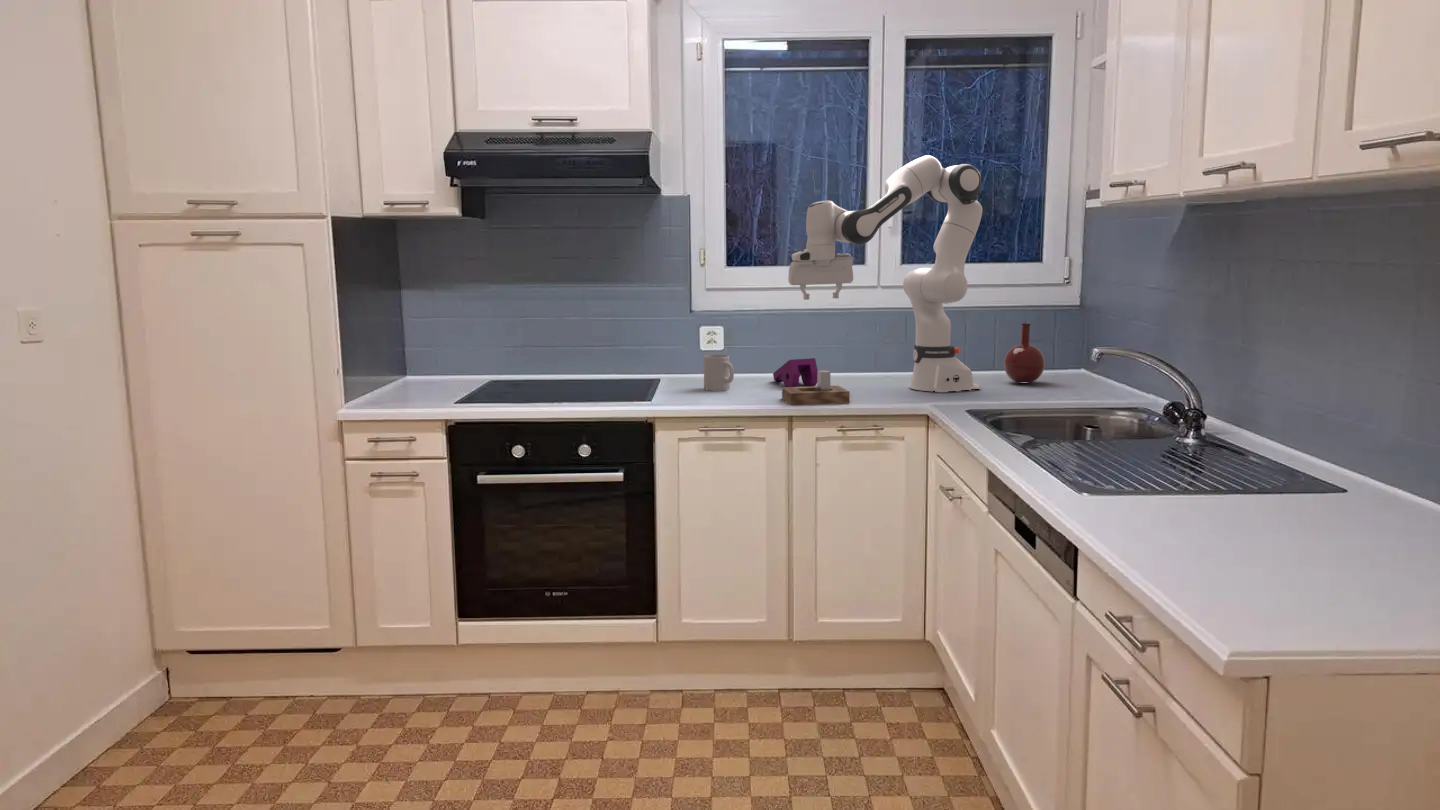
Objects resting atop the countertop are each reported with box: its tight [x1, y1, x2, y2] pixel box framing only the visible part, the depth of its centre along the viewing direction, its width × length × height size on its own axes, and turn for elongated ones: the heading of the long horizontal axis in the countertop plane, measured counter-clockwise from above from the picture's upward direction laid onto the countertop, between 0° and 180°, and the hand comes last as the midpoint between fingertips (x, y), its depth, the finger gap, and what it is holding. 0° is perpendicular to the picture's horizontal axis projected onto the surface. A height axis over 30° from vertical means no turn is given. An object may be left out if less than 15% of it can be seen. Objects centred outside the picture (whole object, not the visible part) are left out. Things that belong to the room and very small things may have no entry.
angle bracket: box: [816, 369, 831, 391], centre depth 300 cm, size 8×4×9 cm, turn 99°
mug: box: [703, 354, 735, 391], centre depth 322 cm, size 12×8×11 cm
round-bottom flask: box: [1003, 323, 1046, 383], centre depth 329 cm, size 13×13×20 cm
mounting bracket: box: [772, 357, 819, 387], centre depth 332 cm, size 10×8×18 cm
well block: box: [781, 384, 851, 406], centre depth 300 cm, size 18×12×4 cm, turn 99°
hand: (821, 298), depth 307 cm, fingers open, 8 cm apart
